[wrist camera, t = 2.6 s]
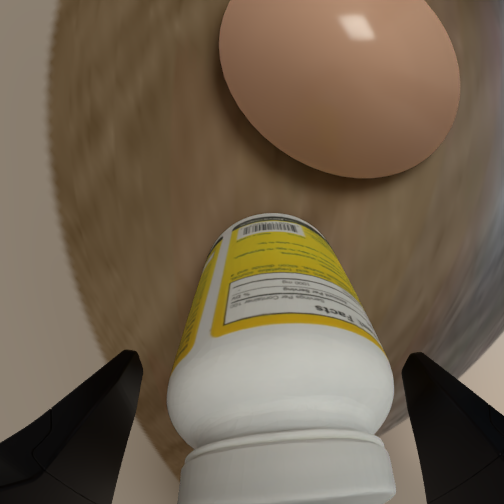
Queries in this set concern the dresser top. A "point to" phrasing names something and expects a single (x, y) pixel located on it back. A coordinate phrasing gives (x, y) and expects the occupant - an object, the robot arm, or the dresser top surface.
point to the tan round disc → (343, 80)
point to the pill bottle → (280, 376)
